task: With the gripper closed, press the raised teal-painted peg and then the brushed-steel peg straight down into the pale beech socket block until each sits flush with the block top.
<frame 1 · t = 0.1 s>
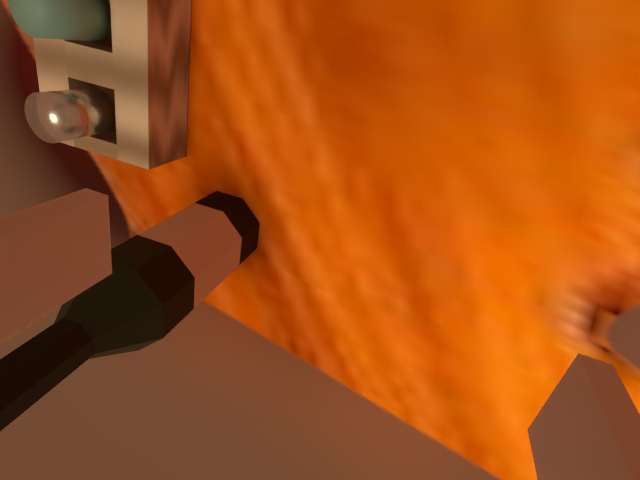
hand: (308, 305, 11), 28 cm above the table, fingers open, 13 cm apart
wine bottle: (227, 225, 45), on the table
teal peg: (64, 11, 31), point 8 cm above the table, slide at 0.0 cm
socket block: (136, 64, 40), on the table
steel peg: (74, 114, 35), point 8 cm above the table, slide at 0.0 cm
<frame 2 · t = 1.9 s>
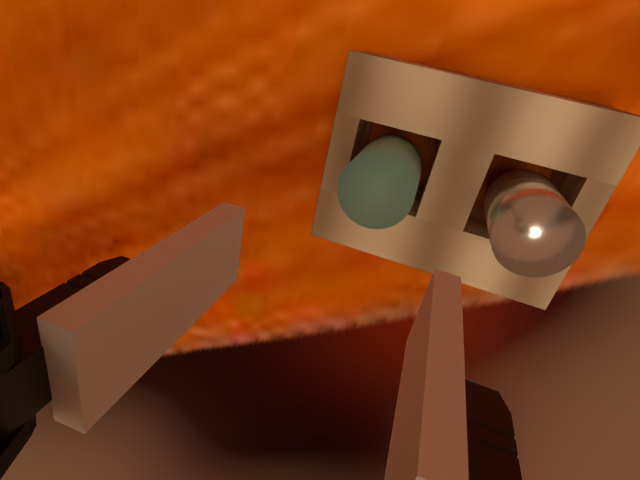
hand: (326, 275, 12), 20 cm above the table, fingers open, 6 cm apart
teal peg: (383, 178, 23), point 8 cm above the table, slide at 0.0 cm
socket block: (452, 164, 29), on the table
steel peg: (526, 218, 21), point 8 cm above the table, slide at 0.0 cm
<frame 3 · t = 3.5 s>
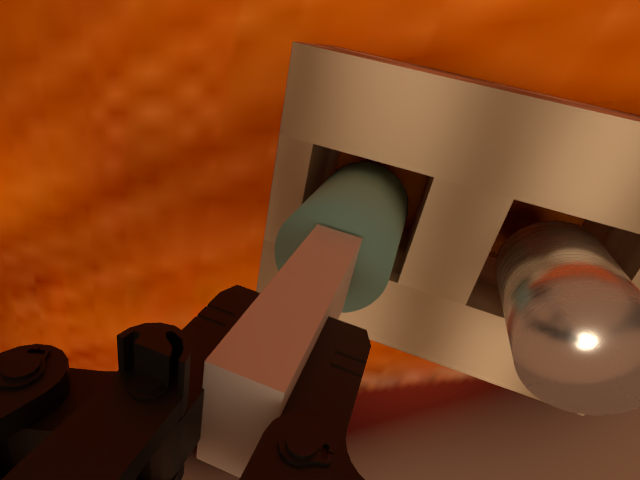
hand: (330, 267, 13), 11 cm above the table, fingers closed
teal peg: (349, 228, 16), point 7 cm above the table, slide at 0.7 cm, touching gripper
socket block: (450, 199, 21), on the table
steel peg: (566, 304, 14), point 8 cm above the table, slide at 0.0 cm
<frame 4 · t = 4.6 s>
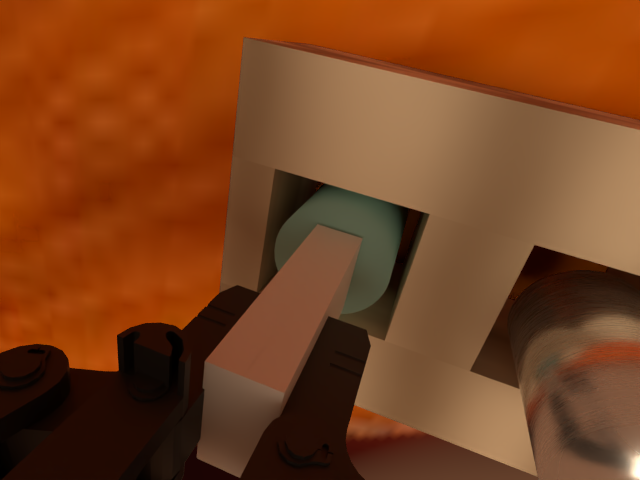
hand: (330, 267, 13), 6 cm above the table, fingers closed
teal peg: (350, 229, 16), point 3 cm above the table, slide at 4.7 cm, touching gripper
socket block: (451, 228, 18), on the table
steel peg: (607, 392, 10), point 8 cm above the table, slide at 0.0 cm
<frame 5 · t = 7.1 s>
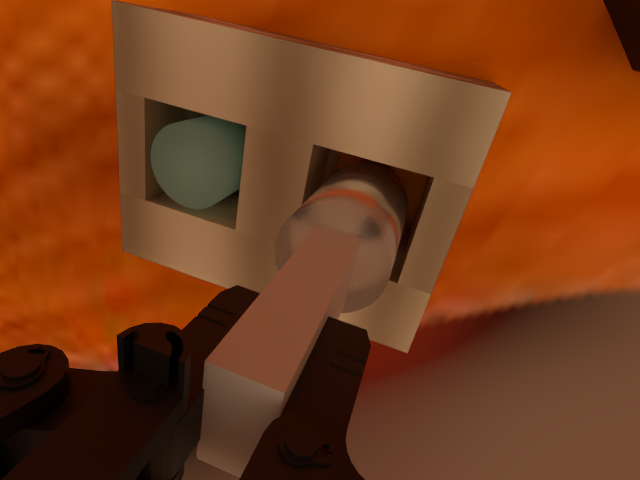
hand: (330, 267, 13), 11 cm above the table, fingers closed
teal peg: (220, 154, 21), point 3 cm above the table, slide at 4.8 cm
socket block: (312, 160, 23), on the table
steel peg: (349, 229, 16), point 7 cm above the table, slide at 0.7 cm, touching gripper
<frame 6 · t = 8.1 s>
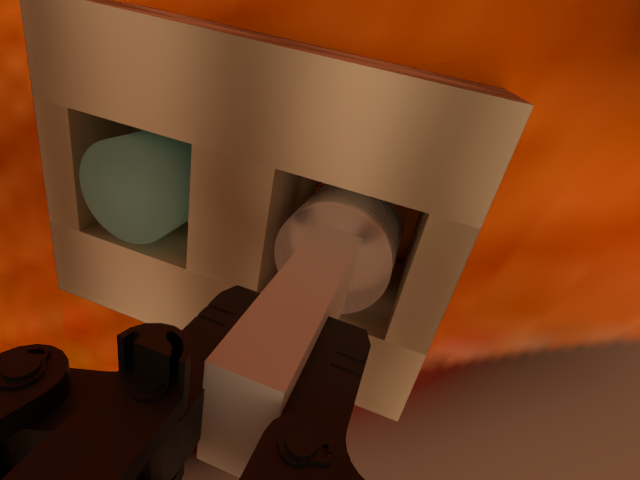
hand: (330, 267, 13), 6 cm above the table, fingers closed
teal peg: (173, 174, 17), point 3 cm above the table, slide at 4.8 cm
socket block: (287, 179, 19), on the table
steel peg: (350, 229, 16), point 3 cm above the table, slide at 4.7 cm, touching gripper
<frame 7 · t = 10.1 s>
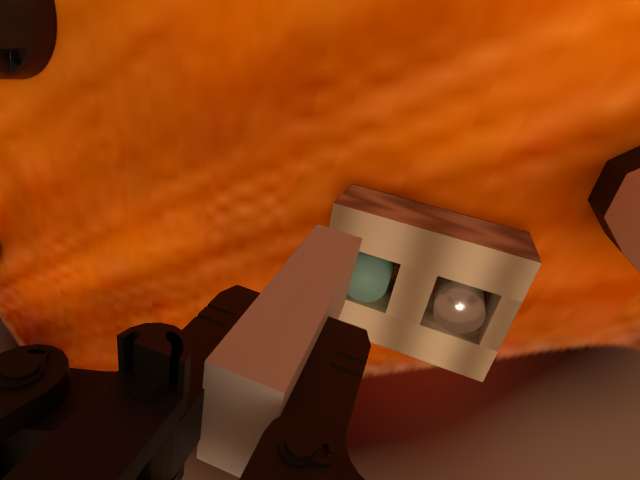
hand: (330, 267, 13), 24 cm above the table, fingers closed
teal peg: (370, 266, 36), point 3 cm above the table, slide at 4.8 cm
socket block: (417, 264, 38), on the table
steel peg: (459, 294, 35), point 3 cm above the table, slide at 4.7 cm
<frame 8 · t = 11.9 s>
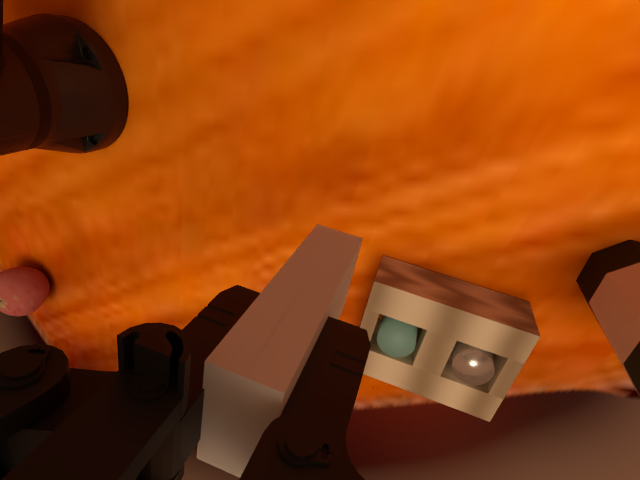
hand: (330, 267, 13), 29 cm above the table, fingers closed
wine bottle: (625, 278, 38), on the table
teal peg: (399, 325, 44), point 3 cm above the table, slide at 4.8 cm
apple: (43, 277, 65), on the table
socket block: (436, 320, 46), on the table
steel peg: (471, 350, 42), point 3 cm above the table, slide at 4.7 cm
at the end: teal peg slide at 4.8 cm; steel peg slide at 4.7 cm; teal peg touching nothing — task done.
